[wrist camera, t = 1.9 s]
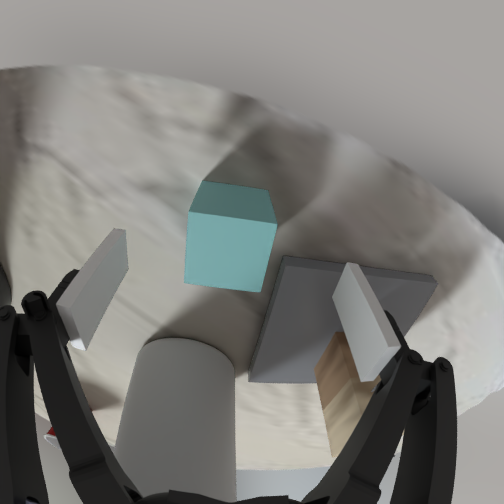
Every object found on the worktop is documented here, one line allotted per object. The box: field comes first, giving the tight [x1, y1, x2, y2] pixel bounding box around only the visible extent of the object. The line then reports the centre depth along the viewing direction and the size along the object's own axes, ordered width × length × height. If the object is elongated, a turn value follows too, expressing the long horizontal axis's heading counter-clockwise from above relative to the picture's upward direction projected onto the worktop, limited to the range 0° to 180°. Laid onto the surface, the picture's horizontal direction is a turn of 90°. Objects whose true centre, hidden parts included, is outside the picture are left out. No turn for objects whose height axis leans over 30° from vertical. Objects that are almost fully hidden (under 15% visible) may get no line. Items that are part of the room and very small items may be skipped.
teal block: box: [184, 181, 278, 292], centre depth 19 cm, size 5×5×6 cm
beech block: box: [323, 375, 404, 457], centre depth 21 cm, size 7×7×6 cm
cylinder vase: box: [114, 338, 237, 502], centre depth 21 cm, size 12×12×25 cm
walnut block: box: [314, 332, 379, 410], centre depth 26 cm, size 7×7×6 cm
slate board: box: [248, 256, 438, 383], centre depth 28 cm, size 18×18×2 cm
